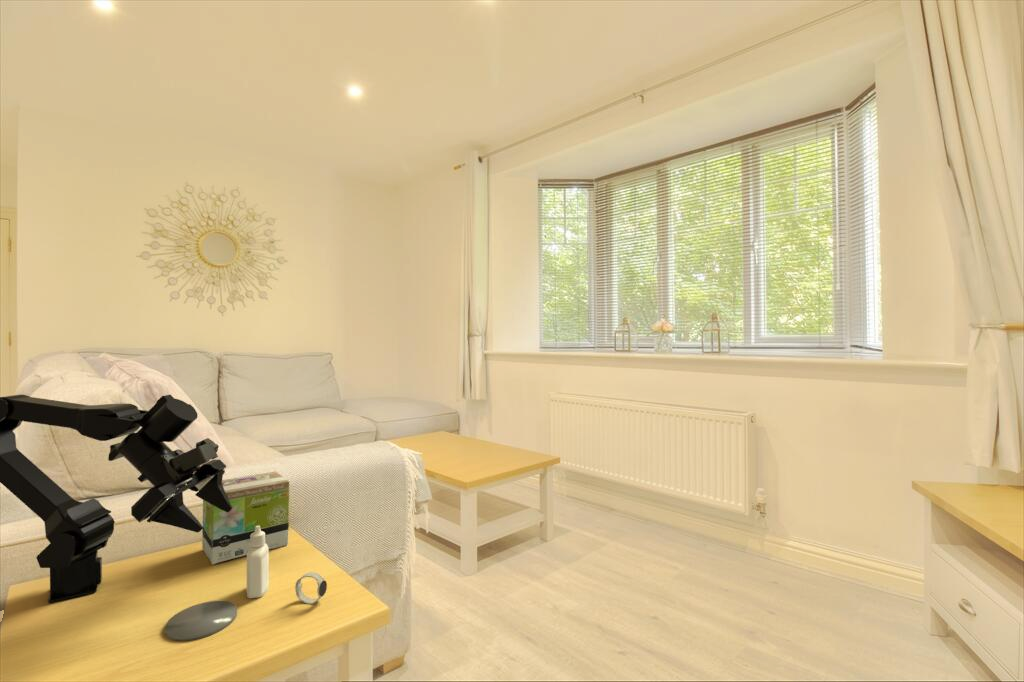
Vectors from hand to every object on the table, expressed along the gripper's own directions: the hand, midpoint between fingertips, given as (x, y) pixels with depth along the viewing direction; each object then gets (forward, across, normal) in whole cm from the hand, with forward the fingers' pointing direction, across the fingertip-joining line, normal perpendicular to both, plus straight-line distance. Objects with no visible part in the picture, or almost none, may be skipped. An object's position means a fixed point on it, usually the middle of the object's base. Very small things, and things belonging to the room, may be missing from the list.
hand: (216, 519), depth 89 cm
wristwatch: (+22, -3, -4) cm, 23 cm away
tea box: (+7, +18, +12) cm, 23 cm away
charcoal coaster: (+11, -9, +7) cm, 16 cm away
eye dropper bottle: (+15, 0, +4) cm, 15 cm away
